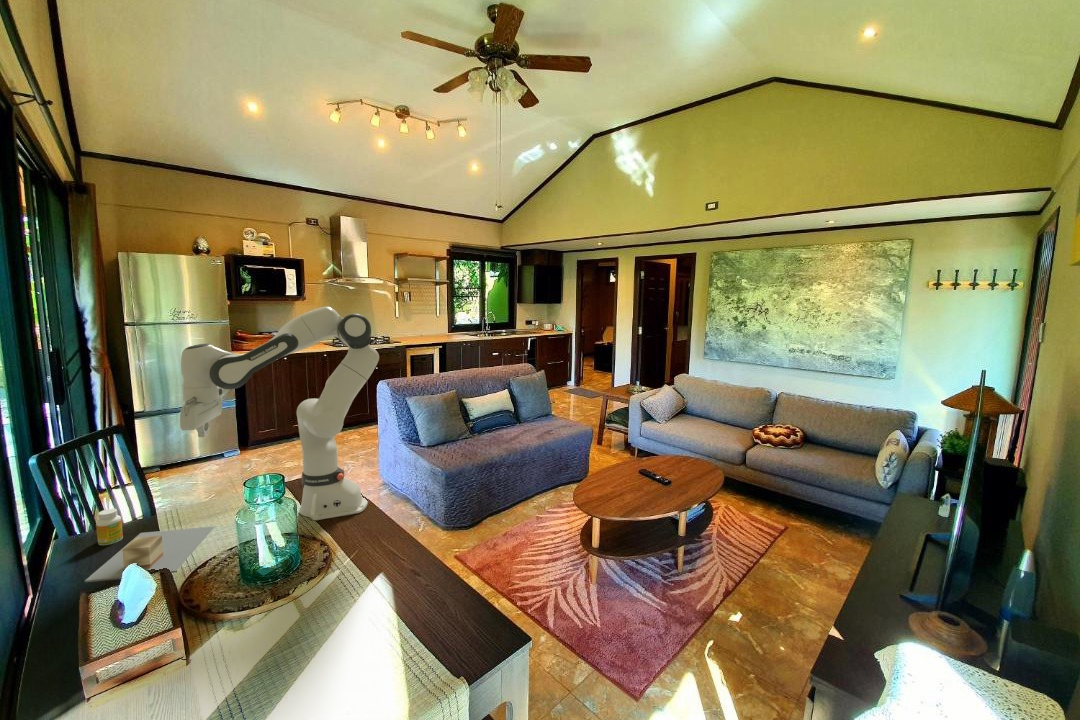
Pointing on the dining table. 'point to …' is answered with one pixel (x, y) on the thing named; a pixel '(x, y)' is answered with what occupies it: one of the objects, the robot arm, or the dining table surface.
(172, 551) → the slate mat
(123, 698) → the dining table surface
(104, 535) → the supplement bottle
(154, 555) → the birch block
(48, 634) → the dining table surface
